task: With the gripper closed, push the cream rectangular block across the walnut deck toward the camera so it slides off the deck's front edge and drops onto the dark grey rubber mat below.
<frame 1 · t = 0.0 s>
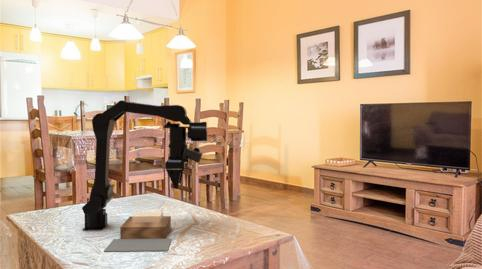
hand: (177, 185, 126), 14 cm above the table, fingers open, 9 cm apart
cream rectangular block: (148, 219, 121), point 4 cm above the table, touching deck
mat: (139, 245, 108), on the table
deck: (146, 233, 119), on the table
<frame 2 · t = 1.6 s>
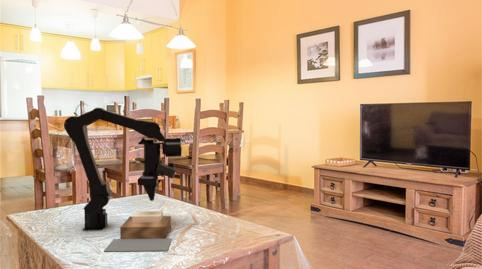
hand: (152, 200, 129), 9 cm above the table, fingers closed
nothing on the table moved.
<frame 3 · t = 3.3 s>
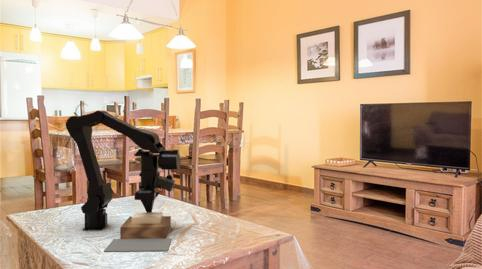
hand: (149, 214, 123), 5 cm above the table, fingers closed
cream rectangular block: (147, 220, 120), point 4 cm above the table, touching deck, gripper
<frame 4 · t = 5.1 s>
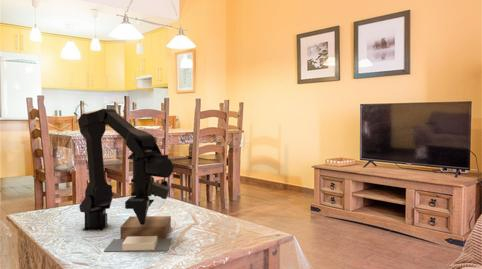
hand: (142, 224, 112), 5 cm above the table, fingers closed
cream rectangular block: (140, 239, 107), point 2 cm above the table, tilted 180°, touching mat
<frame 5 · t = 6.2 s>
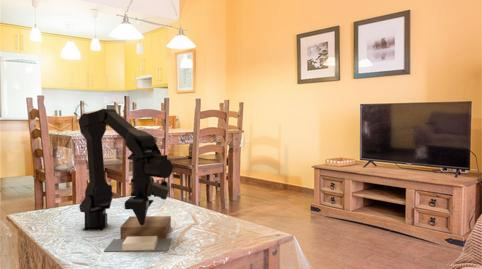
hand: (142, 224, 112), 5 cm above the table, fingers closed
nothing on the table moved.
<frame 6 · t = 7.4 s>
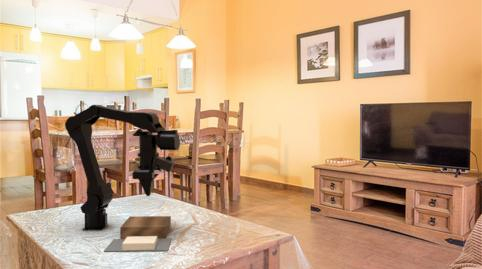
hand: (148, 195, 122), 12 cm above the table, fingers closed
nothing on the table moved.
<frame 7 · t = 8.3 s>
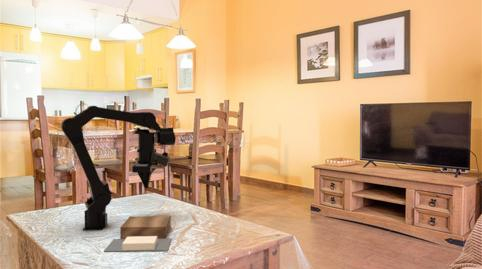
hand: (146, 188, 133), 12 cm above the table, fingers closed
nothing on the table moved.
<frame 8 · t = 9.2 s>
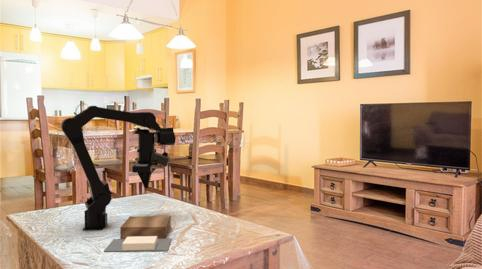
hand: (146, 188, 133), 12 cm above the table, fingers closed
nothing on the table moved.
at the end: cream rectangular block point 2.3 cm above the table; cream rectangular block inside the target area on the mat (1.8 cm from its centre), point 2.3 cm above the mat's base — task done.
